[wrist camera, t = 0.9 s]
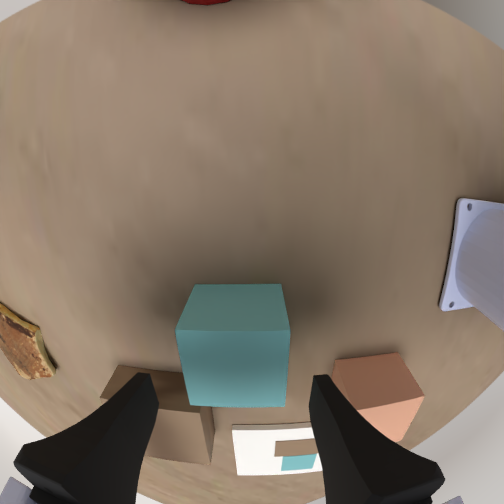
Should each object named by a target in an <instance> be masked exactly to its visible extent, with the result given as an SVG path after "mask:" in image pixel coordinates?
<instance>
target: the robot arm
mask: <svg viewBox="0 0 504 504" xmlns="http://www.w3.org/2000/svg"><path fill="white" fill-rule="evenodd" d="M468 204H469V207H468V209H467V205H468ZM450 303H451V304H450ZM449 304H450V305H449ZM468 307H476V308H477V309H478V310H479V311H480V312H482V313H483V314H484V315H485V316H486V317H487V318H489V319H490V320H491V321H492V322H493V323H494V324H496V325H497V326H498V327H499V328H500V329H501V330H502V331H504V204H503V203H497V202H490V201H483V200H475V199H467V198H460V199H459V200H458V202H457V206H456V216H455V225H454V232H453V239H452V246H451V252H450V258H449V263H448V268H447V273H446V278H445V282H444V287H443V291H442V295H441V299H440V303H439V308H440V309H441V310H442V311H450V310H456V309H463V308H468ZM158 408H159V401H158V398H157V395H156V392H155V389H154V385H153V382H152V379H151V375H150V373H141V372H137V373H136V374H135V375H134V376H133V377H132V378H131V379H130V380H129V381H128V382H127V383H126V384H125V385H124V386H123V387H122V388H121V389H120V390H119V391H118V392H116V393H115V394H114V395H113V396H112V397H111V398H110V399H109V400H108V401H107V402H105V403H104V404H103V405H102V406H100V407H99V408H98V409H97V410H96V411H94V412H93V413H92V414H90V415H89V416H87V417H86V418H84V419H83V420H81V421H80V422H78V423H77V424H75V425H73V426H71V427H69V428H67V429H66V430H64V431H62V432H60V433H57V434H55V435H53V436H50V437H47V438H45V439H42V440H39V441H35V442H31V443H28V444H24V445H23V447H22V448H21V450H20V452H19V453H18V455H17V457H16V459H15V461H14V466H15V467H16V469H17V470H18V471H19V472H20V473H21V474H22V475H23V476H24V477H25V478H26V479H27V480H28V481H29V482H31V483H32V484H33V485H34V487H33V489H32V490H31V489H30V488H29V487H27V486H26V485H24V484H22V483H21V482H19V481H18V480H16V479H14V478H13V477H10V478H9V480H8V482H7V484H6V486H5V487H4V489H3V491H2V493H1V496H0V504H135V502H136V493H137V486H138V480H139V474H140V469H141V464H142V461H143V457H144V454H145V451H146V449H147V446H148V443H149V440H150V437H151V434H152V431H153V428H154V425H155V422H156V418H157V413H158ZM309 412H310V420H311V426H312V430H313V434H314V438H315V442H316V446H317V449H318V453H319V457H320V461H321V465H322V470H323V478H324V486H325V495H326V504H432V499H431V495H432V494H434V493H435V492H436V491H437V490H438V489H439V488H440V487H441V485H443V483H444V481H445V478H444V476H443V473H442V471H441V469H440V467H439V466H438V464H437V463H436V462H434V461H431V460H429V459H426V458H424V457H421V456H419V455H417V454H415V453H412V452H410V451H409V450H407V449H405V448H403V447H402V446H400V445H398V444H397V443H395V442H394V441H392V440H390V439H389V438H388V437H386V436H385V435H384V434H382V433H381V432H380V431H378V430H377V429H376V428H375V427H374V426H372V425H371V424H370V423H369V422H368V421H367V420H366V419H365V418H364V417H363V416H362V415H361V414H360V413H359V412H358V411H357V410H356V409H355V408H354V407H353V406H352V404H351V403H350V402H349V401H348V400H347V399H346V398H345V396H344V395H343V394H342V393H341V391H340V390H339V389H338V387H337V386H336V385H335V383H334V382H333V381H332V379H331V378H330V376H329V375H327V374H325V375H314V376H313V383H312V389H311V395H310V401H309ZM443 504H464V503H463V501H462V499H461V497H460V496H457V497H455V498H453V499H451V500H449V501H447V502H445V503H443Z"/></svg>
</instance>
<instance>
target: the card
mask: <svg viewBox="0 0 504 504" xmlns="http://www.w3.org/2000/svg"><path fill="white" fill-rule="evenodd" d="M232 434H233V442H234V450H235V458H236V466H237V473H238V475H280V474H295V473H306V472H315V471H323V470H322V465H321V461H320V457H319V453H318V449H317V446H316V442H315V438H314V434H313V430H312V426H311V422H307V423H294V424H274V425H232Z"/></svg>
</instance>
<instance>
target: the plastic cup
mask: <svg viewBox="0 0 504 504" xmlns="http://www.w3.org/2000/svg"><path fill="white" fill-rule="evenodd" d="M182 1H185V2H187V3H189V4H201V5H210V4H216V3H223V2H227V1H230V0H182Z"/></svg>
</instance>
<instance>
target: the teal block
mask: <svg viewBox="0 0 504 504" xmlns="http://www.w3.org/2000/svg"><path fill="white" fill-rule="evenodd" d="M175 334H176V340H177V345H178V350H179V356H180V361H181V366H182V370H183V375H184V380H185V384H186V389H187V393H188V397H189V402H190V405H196V406H212V407H284V406H285V398H286V386H287V374H288V360H289V345H290V326H289V321H288V316H287V311H286V306H285V301H284V296H283V291H282V286H281V284H195V286H194V288H193V290H192V292H191V294H190V297H189V299H188V301H187V303H186V305H185V308H184V310H183V312H182V314H181V317H180V319H179V321H178V323H177V326H176V328H175Z"/></svg>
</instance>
